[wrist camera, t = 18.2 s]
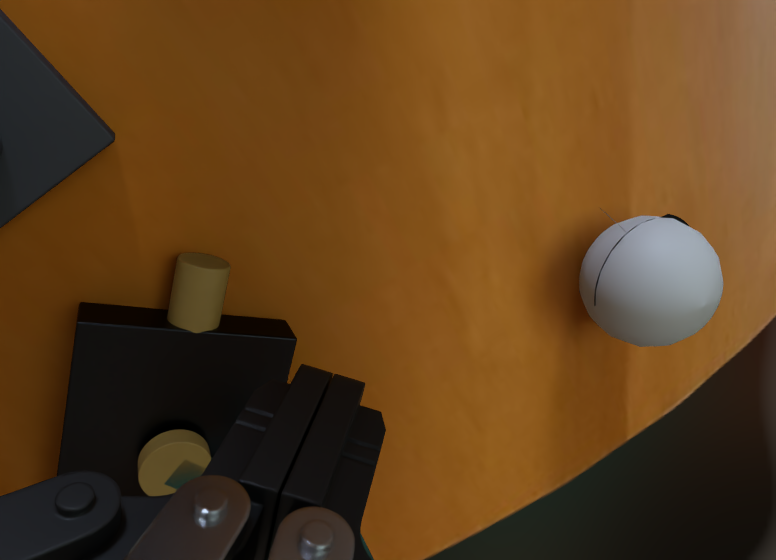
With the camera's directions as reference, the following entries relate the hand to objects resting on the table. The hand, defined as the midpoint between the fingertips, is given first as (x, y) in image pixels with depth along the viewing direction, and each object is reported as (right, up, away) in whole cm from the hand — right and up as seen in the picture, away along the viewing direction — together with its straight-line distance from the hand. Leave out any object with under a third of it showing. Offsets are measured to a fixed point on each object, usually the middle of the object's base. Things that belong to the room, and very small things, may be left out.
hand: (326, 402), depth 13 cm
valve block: (-9, -3, +14) cm, 17 cm away
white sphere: (+14, +5, +22) cm, 26 cm away
